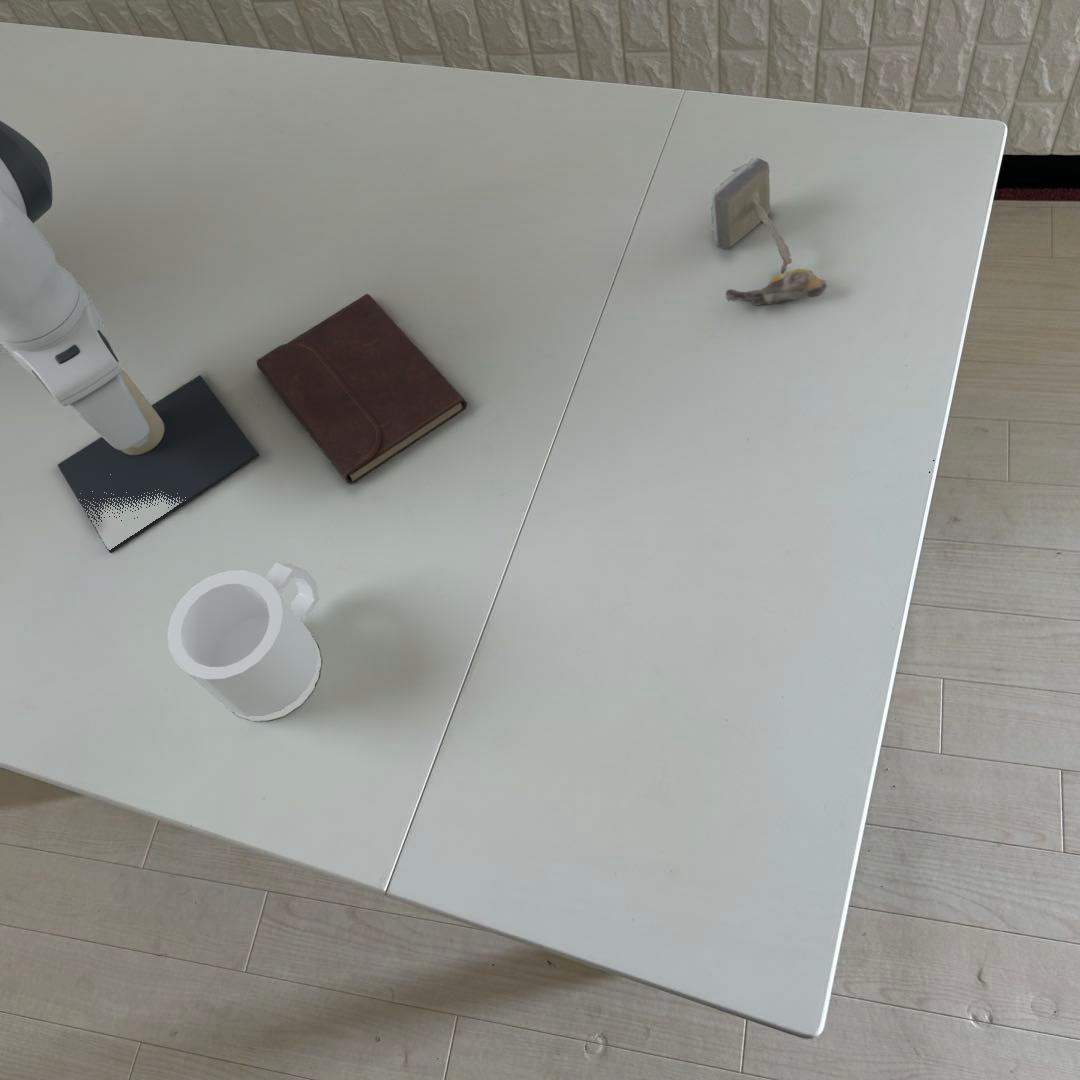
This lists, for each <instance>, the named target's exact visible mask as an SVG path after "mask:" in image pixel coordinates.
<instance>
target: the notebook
mask: <svg viewBox="0 0 1080 1080" xmlns="http://www.w3.org/2000/svg"><path fill="white" fill-rule="evenodd" d="M256 366H257V368H258V370H259V371H260V372H261V373H262V375H263V376H264V377H265V379H266V380H267V381H268V383H269V384H270V385H271V387H272V388H273V389H274V390H275V392H276V393H277V394H278V395H279V397H280V398H281V399H282V401H283V402H284V403H285V405H286V406H287V407H288V409H289V410H290V411H291V412H292V413H293V415H294V416H295V418H296V419H297V420H298V421H299V423H300V424H301V425H302V426H303V428H304V429H305V430H306V432H307V433H308V434H309V435H310V437H311V438H312V439H313V441H314V442H315V443H316V445H317V446H318V447H319V448H320V450H321V451H322V452H323V454H324V455H325V456H326V457H327V459H328V460H329V461H330V463H331V465H333V467H334V468H335V469H336V470H337V472H338V473H339V475H340V476H341V477H342V478H343V479H344V481H345V482H346V483H347V484H349V485H353V484H355V483H356V482H358V481H359V480H360V479H362V478H364V477H366V476H367V475H368V474H370V473H371V472H372V471H375V470H376V469H377V468H379V467H380V466H382V465H384V464H385V463H386V462H389V461H390V460H391V459H392V458H394V457H395V456H396V455H399V454H400V453H402V452H403V451H404V450H406V449H408V448H409V447H410V446H412V445H413V444H415V443H416V442H418V441H420V440H421V439H422V438H424V437H425V436H428V434H430V433H431V432H433V431H434V430H436V429H438V428H439V427H441V426H443V425H444V424H446V423H447V422H448V421H450V420H451V419H453V418H454V417H456V416H457V415H459V414H460V413H461V412H463V411H465V410H466V409H467V407H468V402H467V400H466V399H464V397H463V396H462V395H461V394H460V392H458V390H456V388H455V387H454V386H453V385H452V384H451V383H450V382H449V380H447V379H446V377H445V376H444V375H443V374H442V373H441V372H440V370H438V369H437V367H436V366H435V365H434V364H433V363H432V362H431V361H430V360H429V358H428V357H426V355H425V354H424V353H423V352H422V351H421V349H419V347H418V346H417V345H416V344H415V343H414V342H413V340H411V339H410V338H409V336H408V335H407V334H406V333H405V332H404V331H403V330H402V329H401V328H400V327H399V325H398V324H397V323H396V322H395V321H394V320H393V319H392V317H390V315H389V314H388V313H387V312H386V311H385V310H384V309H383V308H382V307H381V305H380V304H378V302H377V301H376V300H375V299H374V298H373V297H372V295H370V294H368V293H365V294H364V295H362V296H360V297H359V298H357V299H356V300H354V301H353V302H351V303H350V304H348V305H346V306H345V307H343V308H341V309H339V310H338V311H336V312H335V313H333V314H332V315H330V316H328V317H327V318H325V319H324V320H322V321H321V322H319V323H317V324H316V325H313V326H312V327H310V328H309V329H307V330H306V331H305V332H303V333H301V334H300V335H298V336H296V337H295V338H293V339H291V340H289V341H288V342H287V343H284V344H281V345H279V346H277V347H275V348H274V349H272V350H270V351H268V352H267V353H266V354H264V355H262V356H261V357H259V358H258V359H256Z"/></svg>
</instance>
